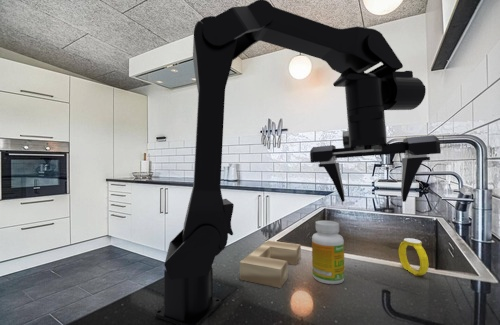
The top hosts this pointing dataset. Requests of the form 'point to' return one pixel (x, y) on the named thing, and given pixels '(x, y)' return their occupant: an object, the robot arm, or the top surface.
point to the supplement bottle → (328, 253)
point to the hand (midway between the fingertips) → (372, 201)
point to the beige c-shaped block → (270, 263)
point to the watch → (421, 254)
